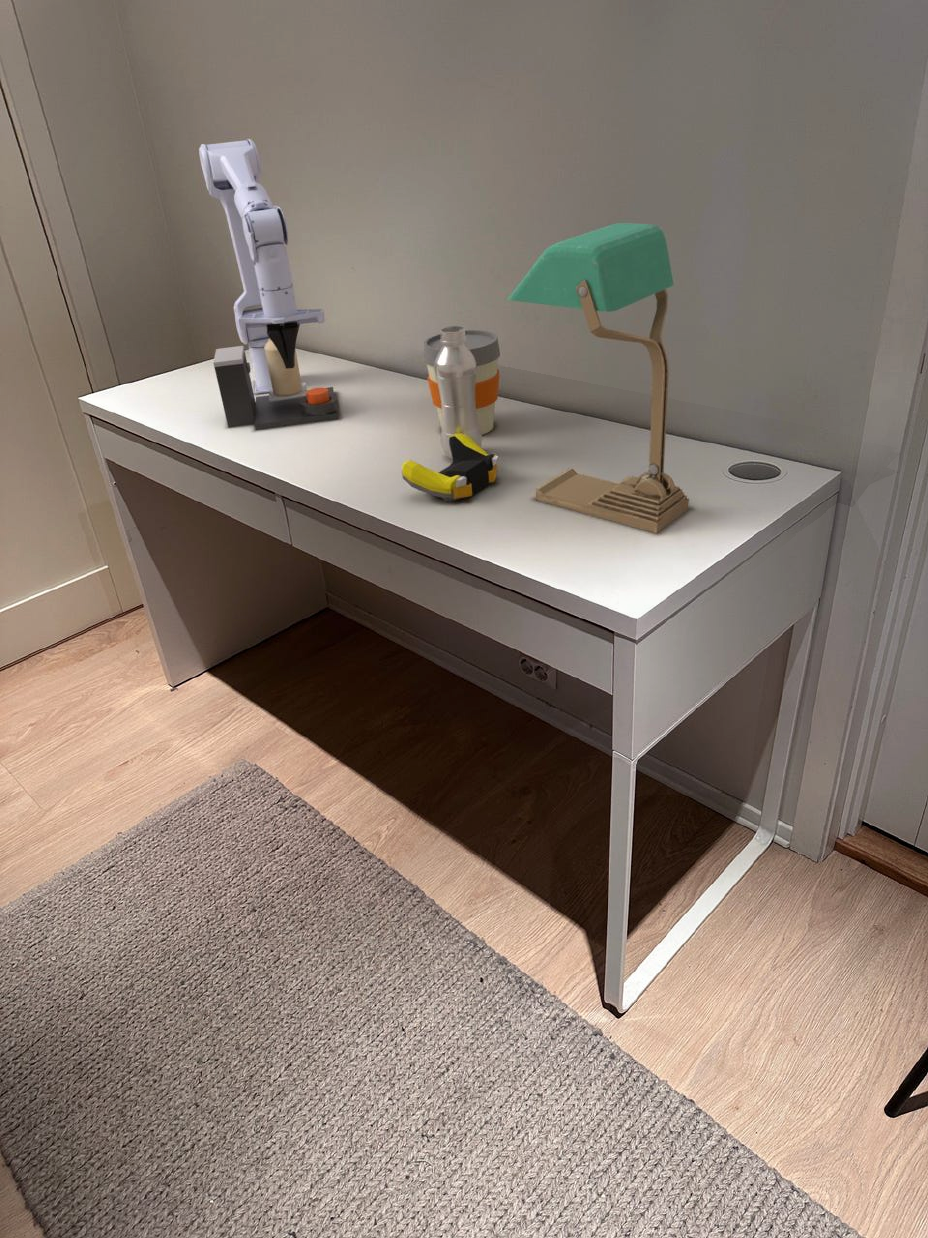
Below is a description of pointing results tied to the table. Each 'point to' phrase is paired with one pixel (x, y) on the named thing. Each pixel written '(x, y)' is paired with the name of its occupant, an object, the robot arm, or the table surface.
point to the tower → (240, 386)
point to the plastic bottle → (456, 387)
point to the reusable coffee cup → (486, 373)
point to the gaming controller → (454, 471)
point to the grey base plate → (293, 411)
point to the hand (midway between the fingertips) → (290, 366)
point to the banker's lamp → (607, 281)
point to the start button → (317, 395)
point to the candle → (282, 372)
